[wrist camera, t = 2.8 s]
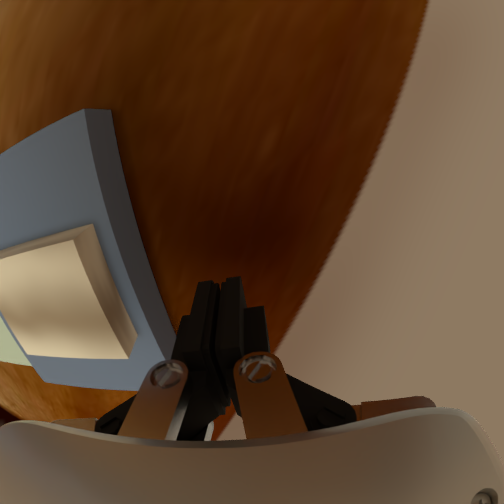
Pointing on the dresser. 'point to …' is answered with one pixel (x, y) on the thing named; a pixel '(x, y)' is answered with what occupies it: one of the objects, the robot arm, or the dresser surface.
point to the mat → (10, 347)
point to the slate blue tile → (106, 227)
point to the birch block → (64, 298)
